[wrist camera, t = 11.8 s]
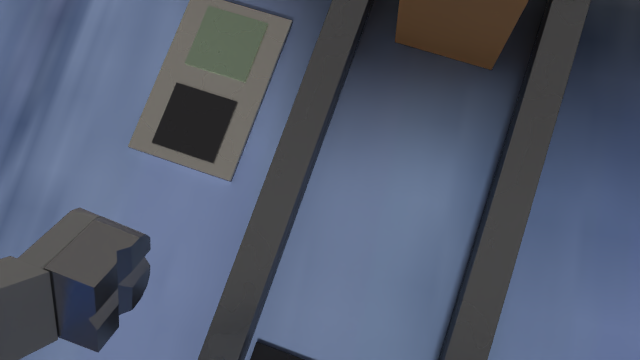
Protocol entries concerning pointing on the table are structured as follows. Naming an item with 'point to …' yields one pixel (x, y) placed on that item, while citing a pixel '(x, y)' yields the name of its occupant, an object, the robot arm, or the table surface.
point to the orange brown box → (459, 27)
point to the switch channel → (306, 140)
